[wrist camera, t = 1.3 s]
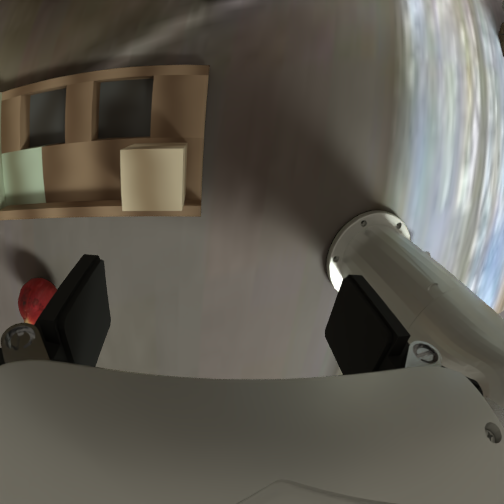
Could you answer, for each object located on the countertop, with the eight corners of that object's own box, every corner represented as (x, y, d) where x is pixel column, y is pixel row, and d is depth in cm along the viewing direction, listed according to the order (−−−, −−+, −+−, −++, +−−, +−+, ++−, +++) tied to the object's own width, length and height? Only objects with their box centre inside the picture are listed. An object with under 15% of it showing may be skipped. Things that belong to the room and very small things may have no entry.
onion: (27, 268, 30) (-1, 303, 23) (60, 264, 31) (33, 301, 24) (42, 305, 33) (19, 342, 26) (74, 303, 34) (53, 343, 26)
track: (209, 69, 25) (210, 59, 20) (201, 202, 31) (200, 220, 26) (7, 94, 21) (-20, 95, 16) (13, 207, 27) (-12, 223, 22)
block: (187, 142, 25) (183, 148, 21) (185, 194, 28) (182, 210, 23) (134, 143, 25) (120, 149, 20) (135, 194, 27) (122, 211, 22)
